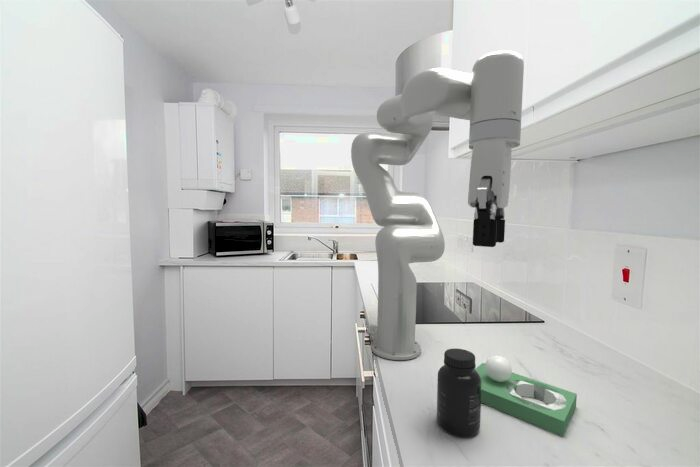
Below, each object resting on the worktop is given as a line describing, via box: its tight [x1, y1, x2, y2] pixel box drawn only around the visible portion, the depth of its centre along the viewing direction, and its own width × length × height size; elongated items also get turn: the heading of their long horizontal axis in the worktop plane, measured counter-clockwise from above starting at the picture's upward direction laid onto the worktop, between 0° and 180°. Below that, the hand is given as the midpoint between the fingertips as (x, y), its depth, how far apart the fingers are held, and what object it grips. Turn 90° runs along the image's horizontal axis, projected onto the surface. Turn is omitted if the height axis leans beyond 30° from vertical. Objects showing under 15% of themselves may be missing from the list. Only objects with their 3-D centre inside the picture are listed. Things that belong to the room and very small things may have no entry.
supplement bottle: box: [436, 348, 482, 438], centre depth 53 cm, size 7×7×12 cm
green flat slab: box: [475, 362, 578, 437], centre depth 61 cm, size 17×11×2 cm, turn 47°
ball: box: [484, 354, 513, 382], centre depth 63 cm, size 5×5×5 cm
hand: (489, 243), depth 53 cm, fingers open, 9 cm apart
